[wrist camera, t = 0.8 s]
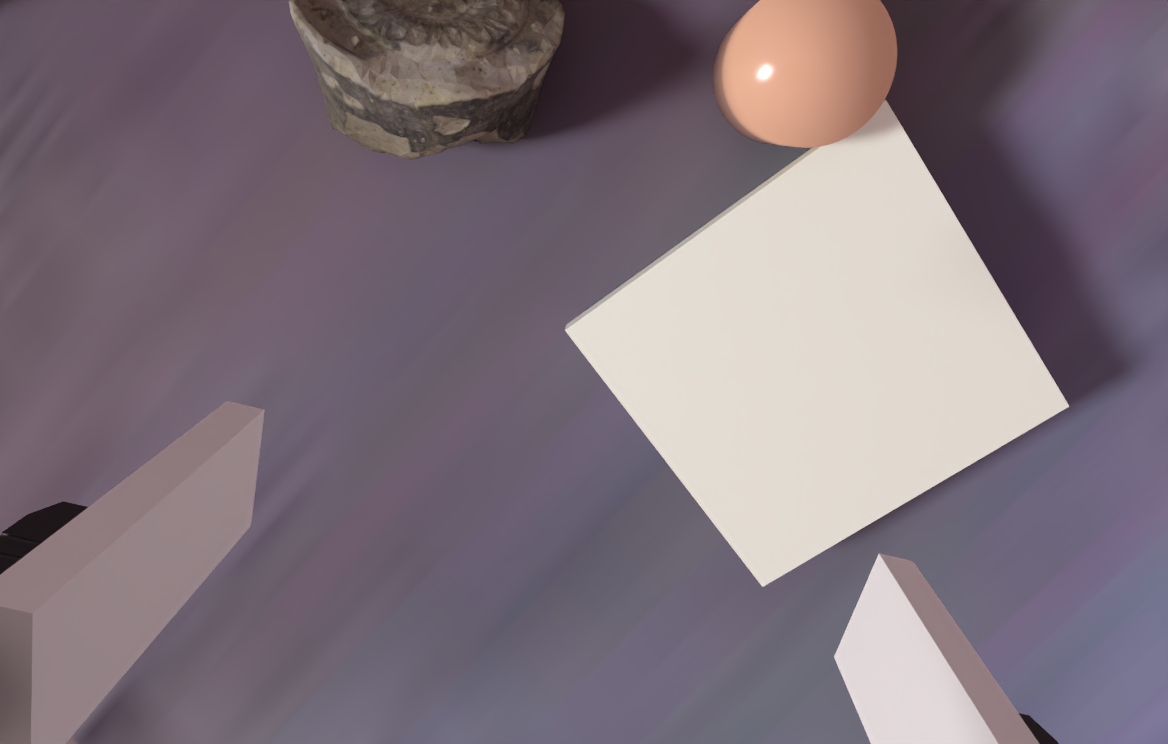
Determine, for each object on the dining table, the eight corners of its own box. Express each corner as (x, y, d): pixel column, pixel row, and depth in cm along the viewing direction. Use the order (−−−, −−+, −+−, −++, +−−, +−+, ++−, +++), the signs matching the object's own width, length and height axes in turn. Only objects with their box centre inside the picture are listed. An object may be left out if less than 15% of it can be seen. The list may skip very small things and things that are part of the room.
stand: (569, 309, 37) (564, 330, 34) (855, 102, 34) (885, 99, 30) (748, 544, 41) (762, 586, 37) (1023, 378, 38) (1069, 406, 34)
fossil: (559, -121, 31) (558, -37, 24) (572, 93, 38) (575, 207, 31) (297, -103, 32) (222, -16, 25) (356, 106, 38) (309, 221, 31)
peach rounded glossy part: (686, 59, 34) (701, 45, 28) (802, -32, 33) (842, -66, 27) (759, 171, 35) (788, 179, 29) (874, 88, 34) (927, 80, 28)
